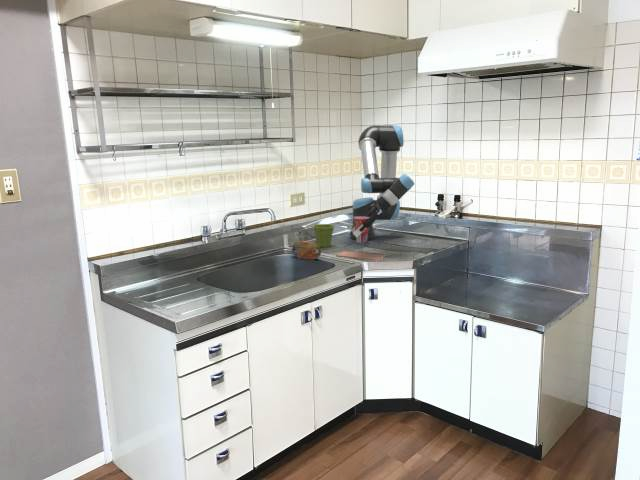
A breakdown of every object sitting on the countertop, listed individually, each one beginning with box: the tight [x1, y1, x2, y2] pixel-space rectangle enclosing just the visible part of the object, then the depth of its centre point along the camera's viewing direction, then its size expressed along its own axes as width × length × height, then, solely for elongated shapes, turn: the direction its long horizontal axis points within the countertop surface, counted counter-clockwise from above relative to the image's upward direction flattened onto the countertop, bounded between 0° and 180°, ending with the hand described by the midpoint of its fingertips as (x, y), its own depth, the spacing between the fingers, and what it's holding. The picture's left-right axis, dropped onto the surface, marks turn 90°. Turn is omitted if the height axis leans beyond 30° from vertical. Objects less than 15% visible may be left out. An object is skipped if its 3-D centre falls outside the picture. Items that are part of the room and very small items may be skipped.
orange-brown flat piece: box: [291, 240, 322, 261], centre depth 257 cm, size 15×3×8 cm, turn 62°
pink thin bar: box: [346, 250, 388, 256], centre depth 267 cm, size 2×22×1 cm, turn 64°
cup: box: [352, 216, 369, 243], centre depth 258 cm, size 9×8×12 cm
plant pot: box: [312, 223, 335, 248], centre depth 284 cm, size 12×12×11 cm
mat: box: [335, 250, 386, 261], centre depth 261 cm, size 10×22×1 cm, turn 64°
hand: (353, 234), depth 258 cm, fingers closed on cup, 7 cm apart
